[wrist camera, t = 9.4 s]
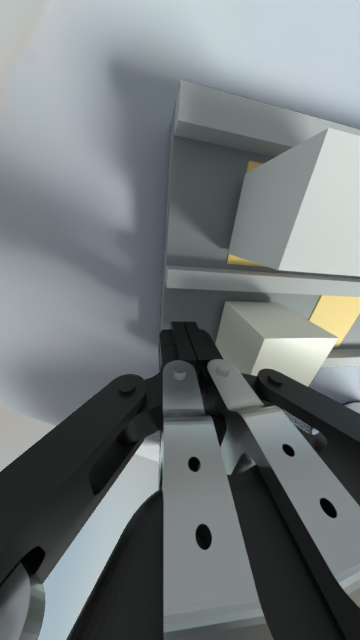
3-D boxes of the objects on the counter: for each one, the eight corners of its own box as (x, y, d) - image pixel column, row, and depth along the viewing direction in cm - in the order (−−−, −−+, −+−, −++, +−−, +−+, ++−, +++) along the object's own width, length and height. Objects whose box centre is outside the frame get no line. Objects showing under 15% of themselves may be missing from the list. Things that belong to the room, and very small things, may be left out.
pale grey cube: (314, 187, 9) (438, 157, 5) (288, 259, 11) (366, 276, 7) (244, 173, 8) (328, 127, 4) (227, 253, 10) (278, 270, 6)
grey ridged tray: (442, 187, 12) (526, 176, 10) (341, 344, 19) (374, 364, 16) (170, 126, 9) (180, 79, 6) (159, 347, 15) (161, 374, 12)
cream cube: (278, 302, 12) (338, 337, 8) (262, 344, 14) (306, 390, 10) (225, 300, 11) (264, 338, 7) (214, 345, 13) (242, 394, 9)
